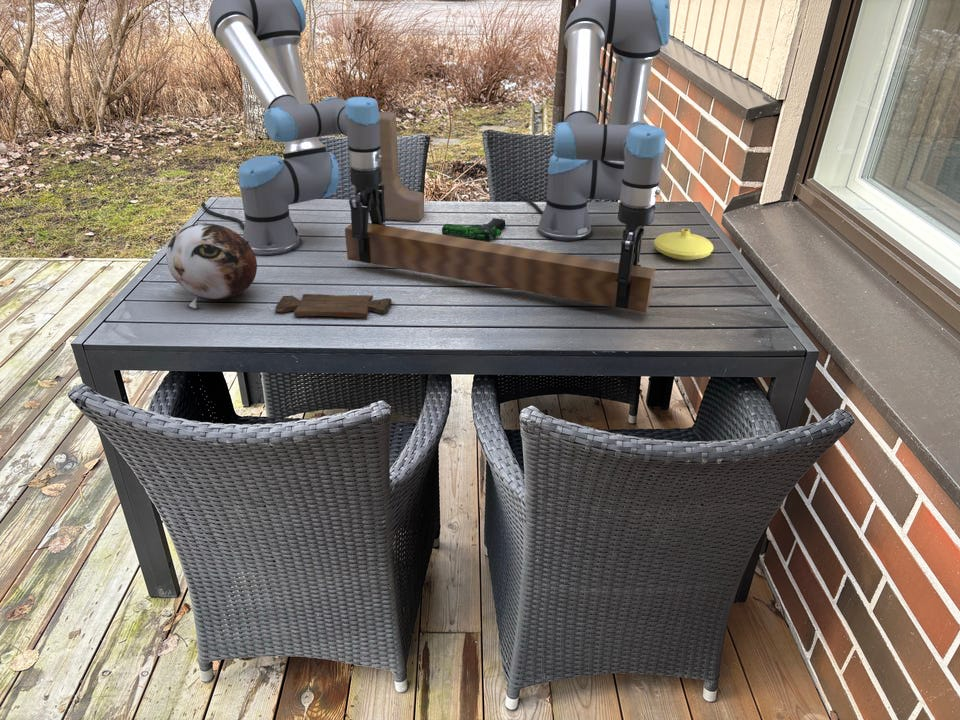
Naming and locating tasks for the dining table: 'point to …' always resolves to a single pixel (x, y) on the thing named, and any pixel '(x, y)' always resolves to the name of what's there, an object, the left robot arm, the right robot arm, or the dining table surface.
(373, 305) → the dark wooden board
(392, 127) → the decorative block
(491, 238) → the handgun
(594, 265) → the bar
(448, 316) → the dining table surface
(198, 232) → the cat face balloon
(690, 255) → the vase
